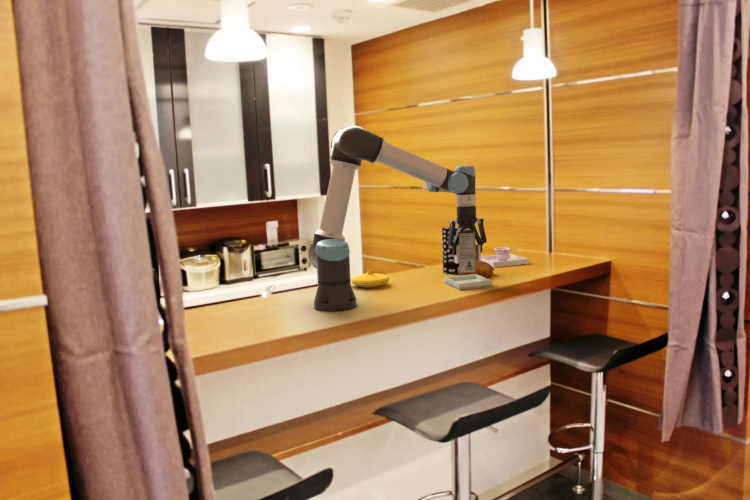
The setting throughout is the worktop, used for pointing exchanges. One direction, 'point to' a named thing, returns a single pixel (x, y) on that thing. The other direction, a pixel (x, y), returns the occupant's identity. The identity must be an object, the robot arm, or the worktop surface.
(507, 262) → the saucer
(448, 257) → the spotted tube
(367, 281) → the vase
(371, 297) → the worktop surface
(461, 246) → the coffee box
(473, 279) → the tray
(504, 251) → the teacup
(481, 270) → the croissant
